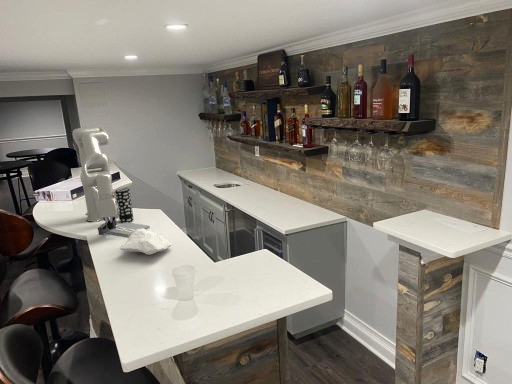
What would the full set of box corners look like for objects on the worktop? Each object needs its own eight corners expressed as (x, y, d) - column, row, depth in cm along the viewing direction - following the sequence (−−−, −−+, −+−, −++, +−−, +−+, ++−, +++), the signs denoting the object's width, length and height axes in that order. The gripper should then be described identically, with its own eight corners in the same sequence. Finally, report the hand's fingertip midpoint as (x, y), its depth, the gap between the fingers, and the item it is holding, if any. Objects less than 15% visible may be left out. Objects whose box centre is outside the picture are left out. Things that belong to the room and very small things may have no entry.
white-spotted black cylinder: (135, 219, 246) (131, 188, 241) (130, 223, 238) (126, 191, 233) (123, 219, 247) (118, 188, 242) (117, 223, 239) (112, 191, 234)
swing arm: (112, 224, 226) (111, 217, 225) (117, 223, 226) (116, 217, 225) (98, 235, 208) (96, 228, 207) (103, 234, 208) (102, 227, 207)
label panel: (105, 232, 222) (104, 227, 221) (126, 224, 235) (126, 219, 235) (128, 237, 213) (128, 231, 212) (149, 228, 226) (149, 222, 225)
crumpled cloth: (125, 266, 171) (126, 246, 170) (113, 242, 201) (114, 225, 200) (177, 261, 182) (178, 242, 181) (159, 239, 212) (159, 223, 211)
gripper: (122, 194, 212) (126, 225, 217) (94, 195, 212) (99, 227, 216) (117, 197, 205) (122, 230, 209) (89, 199, 205) (94, 232, 209)
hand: (111, 228), depth 213 cm, fingers closed
